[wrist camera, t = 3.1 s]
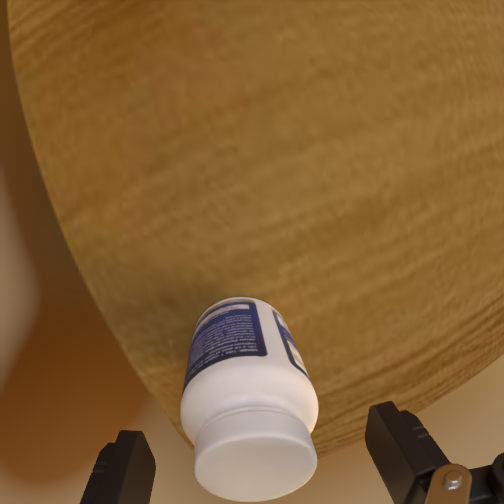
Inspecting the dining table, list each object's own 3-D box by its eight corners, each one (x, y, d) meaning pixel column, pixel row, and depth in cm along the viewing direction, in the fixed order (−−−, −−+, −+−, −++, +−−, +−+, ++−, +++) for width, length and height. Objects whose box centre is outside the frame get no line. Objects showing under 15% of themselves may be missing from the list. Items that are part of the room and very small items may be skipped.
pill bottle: (180, 359, 18) (153, 493, 8) (213, 279, 17) (200, 394, 7) (264, 386, 18) (290, 517, 9) (303, 313, 18) (370, 432, 8)
